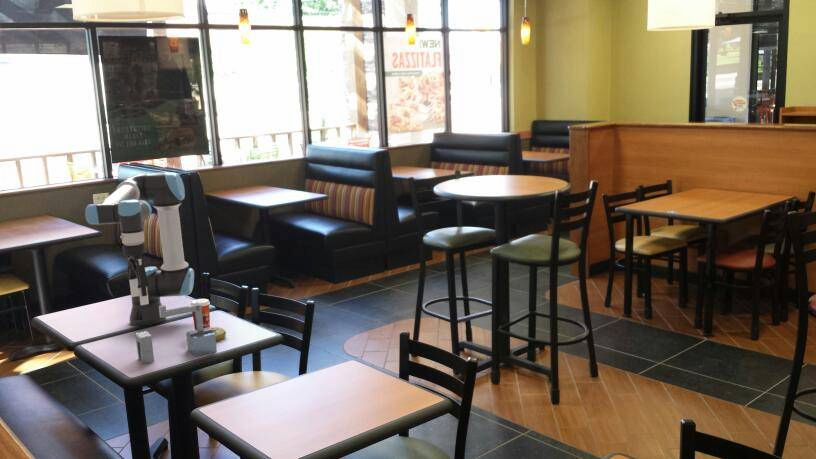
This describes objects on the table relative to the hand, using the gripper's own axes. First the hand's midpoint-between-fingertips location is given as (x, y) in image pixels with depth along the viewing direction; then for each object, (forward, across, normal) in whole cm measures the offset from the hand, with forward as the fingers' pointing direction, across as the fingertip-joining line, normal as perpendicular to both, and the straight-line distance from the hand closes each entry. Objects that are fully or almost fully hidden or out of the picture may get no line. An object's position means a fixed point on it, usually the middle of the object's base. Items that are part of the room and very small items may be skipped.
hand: (139, 300), depth 268 cm
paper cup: (+23, -17, +27) cm, 39 cm away
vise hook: (+23, +3, +15) cm, 27 cm away
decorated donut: (+24, -8, +28) cm, 37 cm away
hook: (+23, 0, 0) cm, 23 cm away
